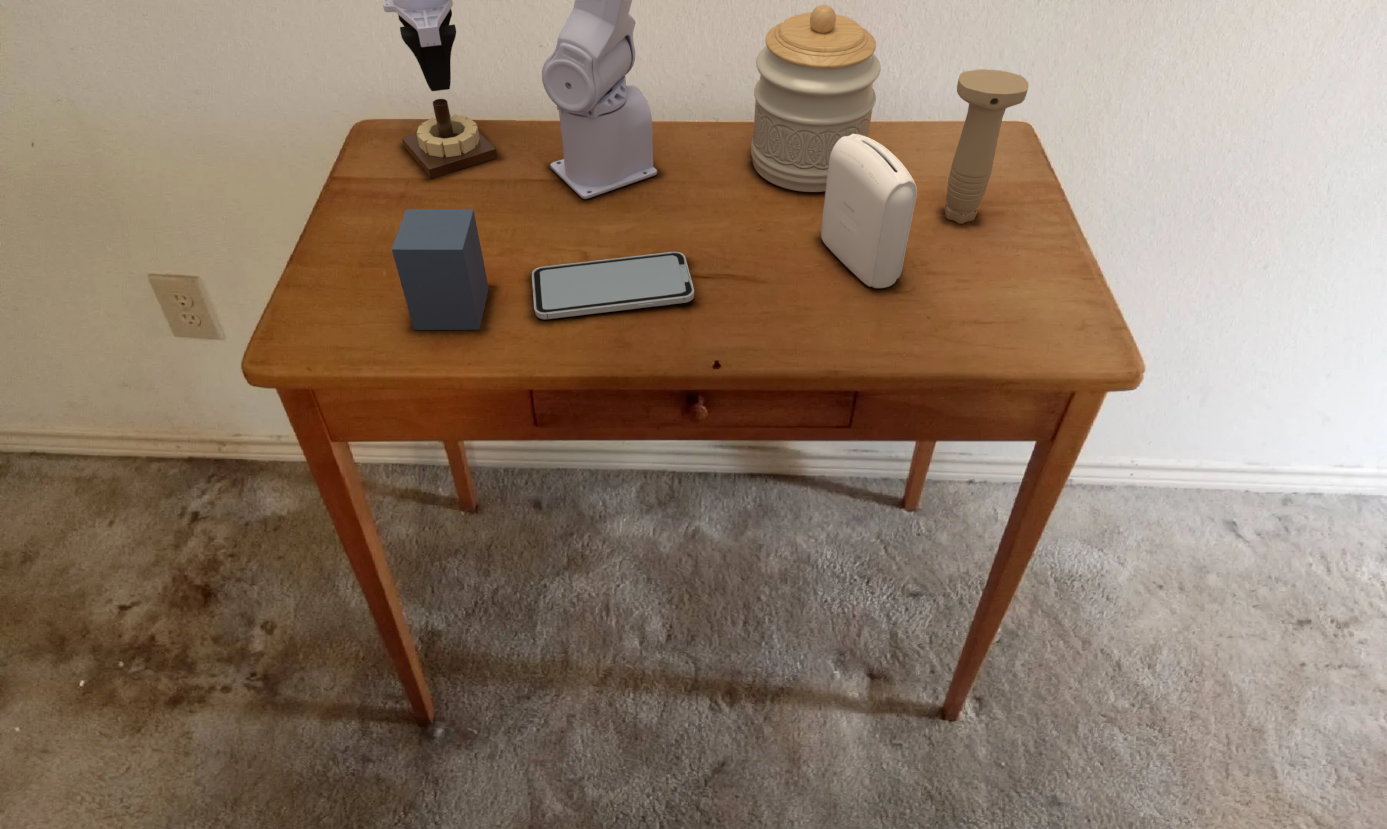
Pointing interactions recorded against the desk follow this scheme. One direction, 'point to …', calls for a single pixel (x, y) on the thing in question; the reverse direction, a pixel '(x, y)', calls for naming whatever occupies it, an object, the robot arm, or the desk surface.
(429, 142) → the bracelet
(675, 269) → the smartphone
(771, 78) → the jar
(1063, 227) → the desk surface
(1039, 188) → the desk surface
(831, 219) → the photo printer
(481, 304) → the block
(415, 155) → the stand
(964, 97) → the handle
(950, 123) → the desk surface
